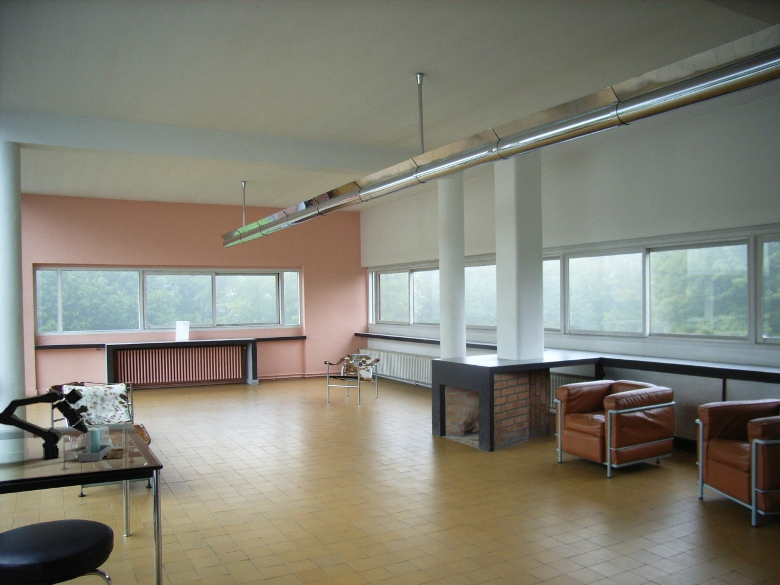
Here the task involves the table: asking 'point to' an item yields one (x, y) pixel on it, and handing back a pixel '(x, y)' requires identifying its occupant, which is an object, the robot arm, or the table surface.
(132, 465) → the table surface
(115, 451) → the socket block
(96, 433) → the dowel
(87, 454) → the tray
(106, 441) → the light bulb box
